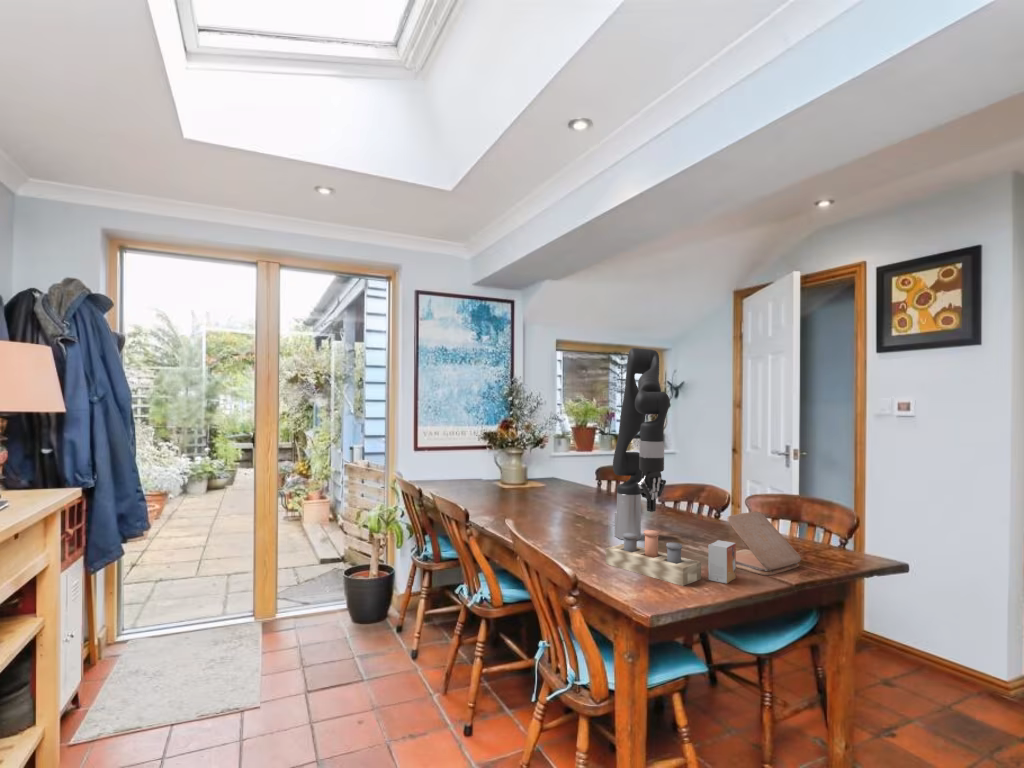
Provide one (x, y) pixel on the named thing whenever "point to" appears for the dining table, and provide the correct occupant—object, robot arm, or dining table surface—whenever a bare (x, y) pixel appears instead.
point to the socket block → (654, 565)
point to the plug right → (674, 552)
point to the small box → (722, 561)
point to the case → (762, 545)
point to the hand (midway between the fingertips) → (651, 511)
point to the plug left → (630, 542)
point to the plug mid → (651, 543)
